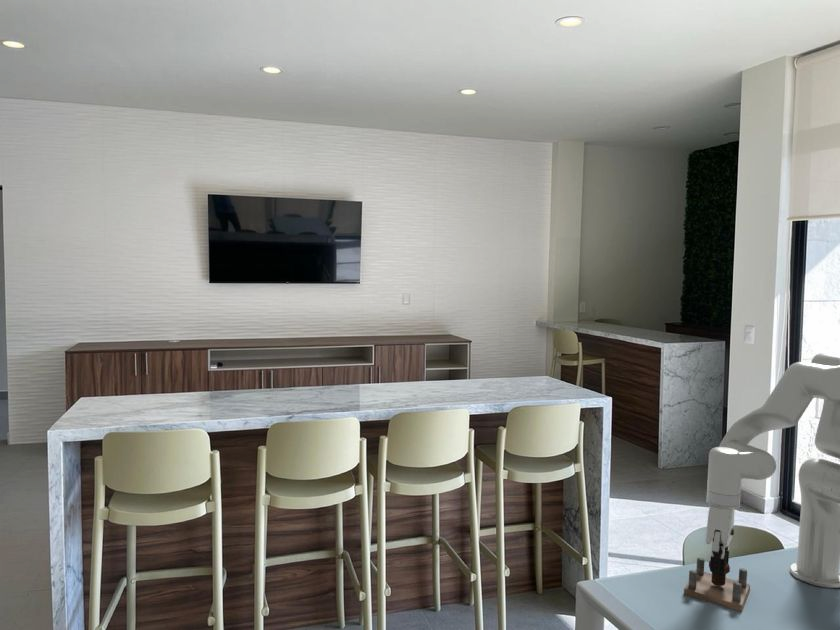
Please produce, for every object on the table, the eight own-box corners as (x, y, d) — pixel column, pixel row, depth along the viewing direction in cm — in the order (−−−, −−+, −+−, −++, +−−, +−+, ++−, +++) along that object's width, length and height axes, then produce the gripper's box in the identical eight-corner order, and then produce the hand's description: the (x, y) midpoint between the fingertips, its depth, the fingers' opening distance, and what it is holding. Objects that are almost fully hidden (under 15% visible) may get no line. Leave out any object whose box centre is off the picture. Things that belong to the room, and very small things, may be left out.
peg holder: (695, 575, 169) (696, 554, 168) (749, 590, 161) (751, 569, 161) (683, 594, 158) (685, 573, 158) (741, 611, 151) (743, 589, 150)
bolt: (732, 590, 156) (735, 531, 155) (710, 588, 157) (713, 529, 156) (725, 579, 162) (729, 522, 161) (704, 577, 163) (707, 520, 162)
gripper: (713, 485, 167) (709, 553, 168) (699, 504, 153) (695, 577, 155) (745, 492, 163) (741, 561, 164) (734, 511, 149) (729, 586, 150)
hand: (719, 568), depth 159 cm, fingers closed on bolt, 4 cm apart
